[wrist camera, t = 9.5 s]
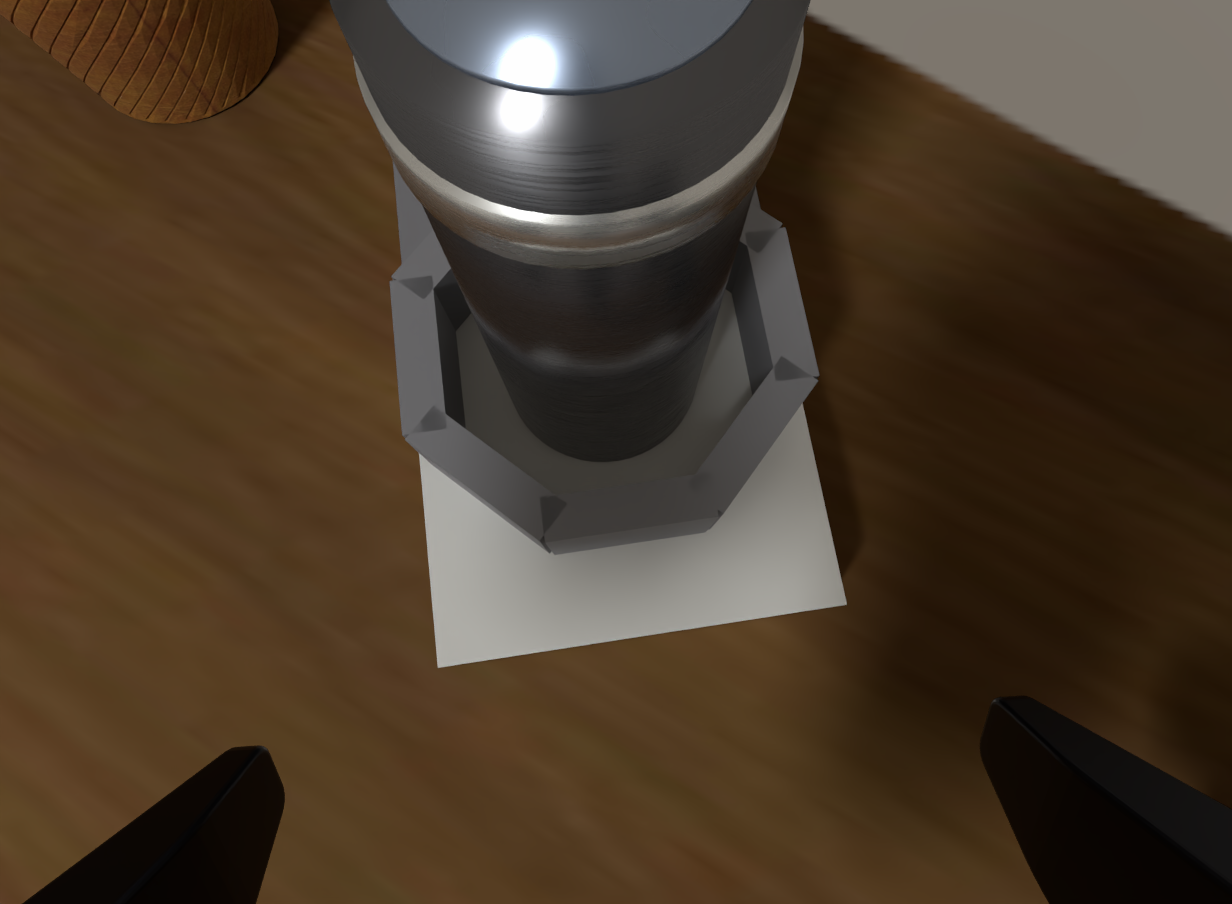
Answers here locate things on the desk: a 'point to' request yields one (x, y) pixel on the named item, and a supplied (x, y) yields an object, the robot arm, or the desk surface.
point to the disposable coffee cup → (156, 50)
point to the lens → (584, 183)
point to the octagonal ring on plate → (613, 475)
